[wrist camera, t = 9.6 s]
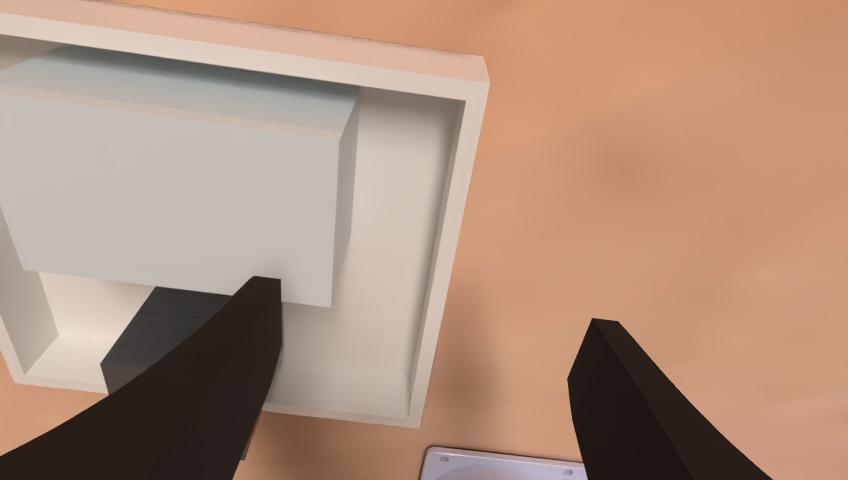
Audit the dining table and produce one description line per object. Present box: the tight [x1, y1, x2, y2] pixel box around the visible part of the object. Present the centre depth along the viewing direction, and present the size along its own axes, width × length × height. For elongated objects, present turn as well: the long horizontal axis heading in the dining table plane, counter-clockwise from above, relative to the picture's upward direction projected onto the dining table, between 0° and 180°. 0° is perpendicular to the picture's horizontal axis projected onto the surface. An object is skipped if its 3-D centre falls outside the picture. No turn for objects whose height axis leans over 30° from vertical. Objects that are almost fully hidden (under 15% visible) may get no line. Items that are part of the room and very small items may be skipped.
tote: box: [0, 0, 490, 429], centre depth 21 cm, size 18×16×3 cm
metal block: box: [100, 286, 284, 460], centre depth 22 cm, size 4×4×6 cm
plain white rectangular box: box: [0, 45, 361, 308], centre depth 18 cm, size 10×6×5 cm, turn 82°
